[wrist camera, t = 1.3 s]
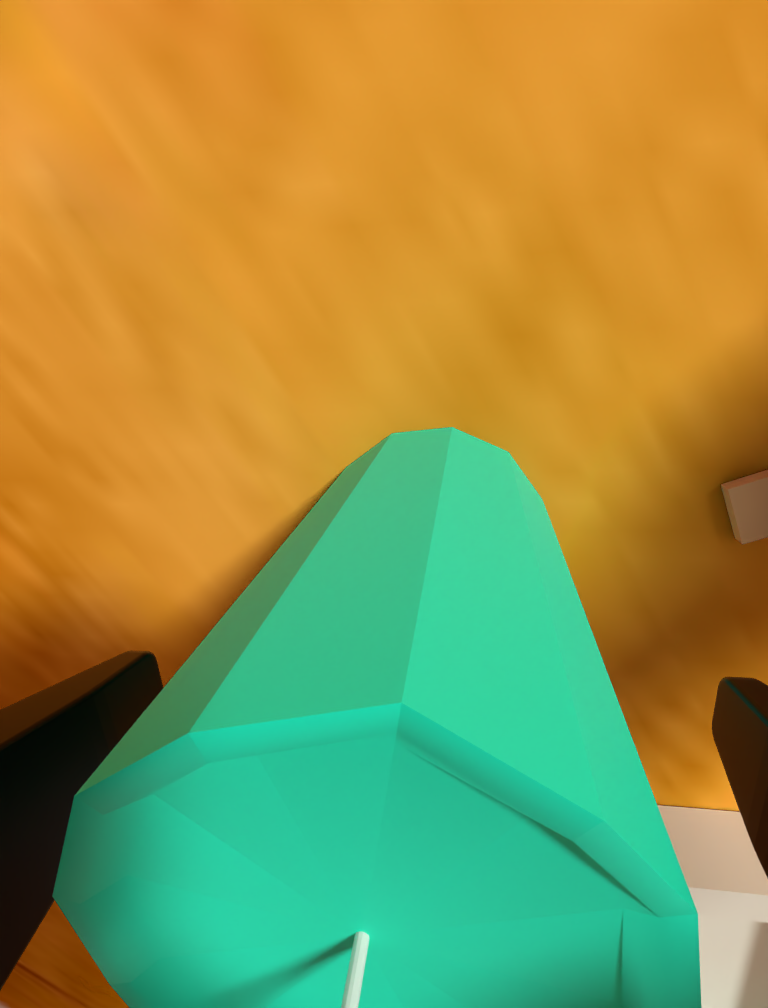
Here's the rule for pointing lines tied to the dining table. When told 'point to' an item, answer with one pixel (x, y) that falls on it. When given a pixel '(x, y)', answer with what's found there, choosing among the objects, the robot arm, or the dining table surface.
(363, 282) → the dining table surface
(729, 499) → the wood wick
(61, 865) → the candle
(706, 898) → the white square tray
